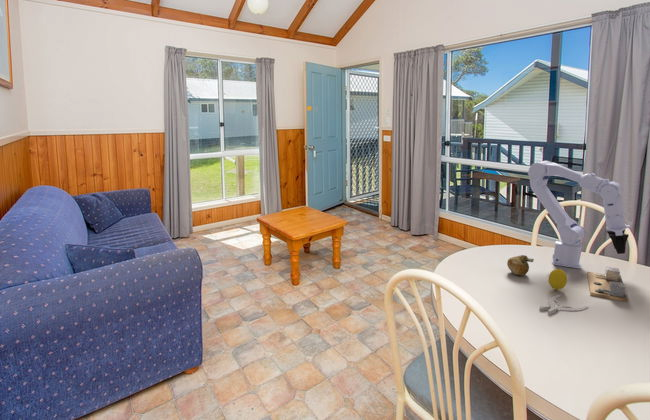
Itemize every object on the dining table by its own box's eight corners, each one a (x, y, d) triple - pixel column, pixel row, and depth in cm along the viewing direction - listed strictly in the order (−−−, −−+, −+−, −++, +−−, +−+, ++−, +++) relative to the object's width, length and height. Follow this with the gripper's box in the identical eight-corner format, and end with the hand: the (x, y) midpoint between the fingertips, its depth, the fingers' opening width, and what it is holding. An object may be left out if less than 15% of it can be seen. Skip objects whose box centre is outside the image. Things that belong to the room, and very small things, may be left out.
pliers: (589, 304, 126) (560, 316, 119) (588, 308, 126) (559, 320, 119) (559, 292, 134) (530, 302, 127) (558, 296, 134) (529, 306, 128)
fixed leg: (598, 292, 133) (600, 283, 132) (597, 288, 136) (599, 279, 135) (623, 297, 129) (625, 287, 129) (621, 292, 133) (623, 283, 132)
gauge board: (590, 295, 134) (591, 290, 134) (587, 274, 151) (587, 269, 150) (626, 301, 129) (627, 296, 129) (619, 279, 146) (620, 274, 145)
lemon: (559, 295, 134) (562, 273, 132) (543, 288, 139) (546, 267, 137) (568, 291, 137) (572, 269, 135) (553, 285, 142) (556, 264, 140)
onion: (517, 268, 157) (519, 249, 155) (533, 276, 149) (536, 256, 147) (501, 271, 155) (503, 251, 153) (517, 279, 147) (519, 259, 145)
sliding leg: (595, 277, 144) (597, 268, 144) (595, 273, 148) (596, 265, 147) (618, 281, 141) (620, 272, 140) (617, 277, 144) (618, 268, 144)
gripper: (631, 216, 137) (636, 254, 138) (625, 210, 150) (630, 245, 150) (606, 218, 141) (611, 256, 142) (602, 213, 153) (607, 247, 154)
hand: (619, 251), depth 146 cm, fingers open, 7 cm apart
